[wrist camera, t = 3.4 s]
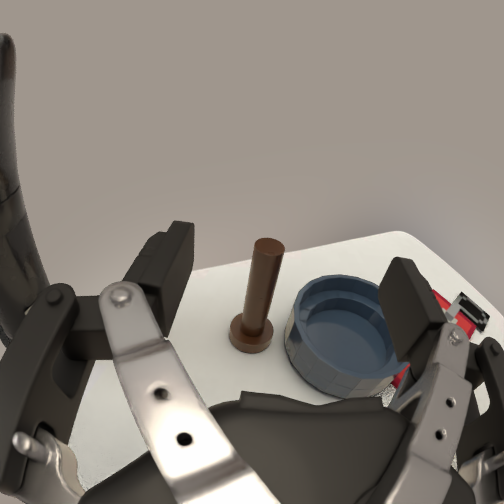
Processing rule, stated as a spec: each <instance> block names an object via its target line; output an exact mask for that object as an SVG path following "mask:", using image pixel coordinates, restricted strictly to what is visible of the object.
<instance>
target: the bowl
mask: <svg viewBox="0 0 504 504" xmlns="http://www.w3.org/2000/svg"><path fill="white" fill-rule="evenodd" d="M378 289H379V286H378V285H376V284H374V283H372V282H370V281H367V280H364V279H361V278H359V277H354V276H348V275H341V274H339V275H327V276H322V277H319V278H317V279H314V280H312V281H310V282H309V283H307V284H306V285H305V286H304V287H303V288H302V289H301V290H300V291H299V293H298V295H297V298H296V300H295V302H294V305H293V308H292V311H291V314H290V316H289V319H288V322H287V325H286V328H285V347H286V350H287V352H288V355H289V357H290V360H291V363H292V364H293V366H294V367H295V368H296V369H297V370H298V372H299V373H300V374H301V375H302V377H303V378H304V379H305V380H306V381H307V382H309V383H310V384H312V385H313V386H315V387H316V388H318V389H319V390H321V391H322V392H325V393H328V394H331V395H334V396H337V397H341V398H344V399H348V398H351V397H369V396H372V395H374V394H377V393H380V392H382V391H383V390H384V389H385V388H386V387H387V386H388V385H389V384H390V383H391V382H392V381H393V380H394V379H395V378H396V377H397V376H398V375H399V374H400V373H401V372H402V371H403V370H404V369H405V368H406V367H407V366H408V365H409V362H398V361H397V358H396V354H395V351H394V347H393V344H392V340H391V337H390V334H389V331H388V327H387V324H386V321H385V318H384V315H383V312H382V309H381V306H380V303H379V300H378Z"/></svg>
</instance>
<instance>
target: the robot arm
mask: <svg viewBox="0 0 504 504" xmlns="http://www.w3.org/2000/svg"><path fill="white" fill-rule="evenodd" d="M15 79H16V50H15V45H14V42H13V39H12V38H11V36H10V35H8V34H6V33H0V324H1V326H2V327H3V330H4V332H5V333H6V335H7V336H8V338H9V339H10V340H11V342H10V344H9V345H8V347H7V349H6V351H5V353H4V355H3V357H2V359H1V361H0V492H1V493H3V494H5V495H8V496H12V497H14V498H18V499H19V500H21V501H22V502H24V503H26V504H502V503H504V351H503V349H502V347H501V345H500V344H499V343H498V342H497V341H496V340H495V339H493V338H491V337H486V338H485V339H484V340H483V341H482V342H481V343H480V344H479V345H477V344H474V343H471V342H469V338H468V336H467V334H466V332H465V331H464V330H463V329H462V328H461V327H460V326H458V325H457V324H455V323H451V322H448V320H447V318H446V316H445V314H444V312H443V310H442V308H441V306H440V304H439V302H438V300H437V299H436V296H435V294H434V292H432V288H431V287H430V285H429V283H428V281H427V280H426V279H425V278H424V277H423V276H422V275H421V274H420V272H419V270H418V269H417V267H416V265H415V263H414V262H413V260H411V259H407V258H401V257H395V258H393V260H392V261H391V263H390V265H389V267H388V269H387V271H386V273H385V275H384V277H383V279H382V281H381V283H380V285H379V289H378V300H379V303H380V306H381V309H382V312H383V315H384V318H385V321H386V324H387V327H388V331H389V334H390V337H391V340H392V344H393V347H394V351H395V354H396V358H397V361H398V362H409V363H410V366H409V367H408V368H407V369H406V371H405V373H404V375H403V377H402V379H401V382H400V384H399V386H398V388H397V390H396V392H395V394H394V396H393V398H392V400H391V402H390V404H389V405H388V407H384V406H383V403H382V398H381V397H351V398H348V399H344V400H340V401H336V402H332V403H328V404H324V405H312V404H308V403H305V402H301V401H298V400H295V399H291V398H288V397H285V396H281V395H275V394H265V393H255V392H247V391H241V395H240V399H239V400H235V401H228V402H223V403H220V404H217V405H214V406H211V407H209V408H207V406H206V404H205V403H204V401H203V399H202V398H201V396H200V394H199V393H198V391H197V389H196V387H195V386H194V384H193V382H192V380H191V379H190V377H189V375H188V373H187V371H186V370H185V368H184V366H183V364H182V362H181V360H180V359H179V357H178V355H177V353H176V351H175V349H174V347H173V345H172V344H171V342H170V341H169V340H165V338H164V337H167V338H168V335H169V332H170V329H171V327H172V324H173V321H174V318H175V315H176V312H177V310H178V307H179V304H180V301H181V299H182V296H183V293H184V290H185V288H186V285H187V282H188V280H189V277H190V274H191V271H192V267H193V262H194V223H190V222H182V221H173V223H172V224H171V226H170V227H169V229H168V231H167V232H158V233H156V234H155V235H153V236H152V237H150V238H149V239H148V240H147V242H146V243H145V245H144V247H143V249H142V250H141V251H140V253H139V256H137V257H136V259H135V260H134V262H133V264H132V265H131V267H130V269H129V270H128V272H127V273H126V275H125V277H124V278H123V280H122V281H120V282H115V283H112V284H111V285H109V286H107V287H106V288H105V289H104V290H103V291H102V292H101V294H100V295H97V296H76V295H75V292H74V290H73V288H72V287H71V286H69V285H68V284H64V283H58V284H53V285H50V284H49V281H48V278H47V276H46V273H45V270H44V268H43V265H42V262H41V259H40V256H39V253H38V250H37V248H36V244H35V241H34V238H33V234H32V231H31V228H30V224H29V220H28V216H27V212H26V209H25V205H24V201H23V196H22V191H21V186H20V181H19V175H18V170H17V158H16V143H15V132H14V94H15ZM96 360H113V363H114V366H115V369H116V372H117V375H118V378H119V381H120V383H121V386H122V389H123V391H124V394H125V397H126V399H127V402H128V404H129V407H130V409H131V412H132V414H133V416H134V419H135V421H136V423H137V426H138V428H139V430H140V432H141V434H142V437H143V439H144V441H145V443H146V445H147V447H148V449H149V451H147V452H146V453H144V454H143V455H141V456H140V457H139V458H137V459H136V460H134V461H133V462H131V463H130V464H128V465H127V466H125V467H124V468H122V469H121V470H119V471H118V472H116V473H115V474H113V475H112V476H110V477H108V478H107V479H105V480H104V481H102V482H100V483H99V484H97V485H95V486H94V487H92V488H90V489H89V490H88V491H86V492H85V490H84V489H83V488H82V486H81V485H80V483H79V480H78V475H77V469H78V465H77V459H76V457H75V454H74V453H73V451H72V450H71V449H70V448H69V447H68V442H69V439H70V435H71V432H72V428H73V425H74V421H75V418H76V415H77V412H78V409H79V406H80V402H81V399H82V396H83V394H84V391H85V388H86V385H87V382H88V379H89V377H90V374H91V371H92V368H93V366H94V363H95V361H96ZM483 382H485V385H486V388H487V392H488V395H489V399H490V405H489V408H488V410H487V411H486V412H485V413H484V414H482V415H481V416H480V413H479V409H478V405H477V401H476V398H475V394H474V390H475V389H476V388H477V387H478V386H479V385H481V384H482V383H483ZM455 452H456V457H457V465H458V472H457V471H456V470H455V469H454V468H453V467H452V466H451V464H452V461H453V458H454V455H455Z"/></svg>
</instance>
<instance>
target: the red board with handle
mask: <svg viewBox="0 0 504 504" xmlns="http://www.w3.org/2000/svg"><path fill="white" fill-rule="evenodd" d="M432 292H434V294H435V296H436V299H437V300H438V302H439V304H440V306H441V308H442V310H443V312H444V314H445V316H446V318H447V320H448V322H451V323H455V324H457V325H458V326H460V327H461V328H462V329H463V330H464V331H465V332H466V334H467V336H468V338H469V339H470V338H471V336H472V334H473V332H474V330H475V328H476V326H477V327H478V328H479V329H480V330H481V331H484V329H485V326H486V324H487V322H488V320H489V317H490V316H489V315H488V314H487V313H486V312H485V311H483V310H482V309H481V308H480V307H479V306H478V305H477V304H475V303H474V302H473V301H472V300H471V299H470V298H469V297H467V296H466V295H465V294H464V293H463V292H461V293H460V294H459V296H458V297H457V298H456V300H455V301H454V302H453V303H452V304H451V303H449V302H448V301H447V300H446V299H445V298H443V297H442V296H441V295H440V294H439V293H437V292H436V291H435V290H434V289H433V290H432ZM462 313H463V314H464V315H465V316H464V315H463V314H462ZM470 320H471V321H472V322H473V323H474V324H473V323H472V322H471V321H470ZM409 366H410V363H409V365H408V366H407V367H406V368H405V369H404V370H403V371H402V372H401V373H400V374H399V375H398V376H397V377H396V378H395V379H394V380H393V381H392V382H391V384H392V385H393V386H394V387H395V388H396V389H397V388H398V386H399V384H400V382H401V379H402V377H403V375H404V373H405V371H406V369H407V368H408V367H409Z"/></svg>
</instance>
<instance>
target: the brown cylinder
mask: <svg viewBox="0 0 504 504" xmlns="http://www.w3.org/2000/svg"><path fill="white" fill-rule="evenodd" d="M284 251H285V247H284V245H283V244H282V243H281V242H279V241H277V240H275V239H272V238H261V239H258V240H257V241H256V242H255V245H254V251H253V256H252V262H251V268H250V274H249V280H248V285H247V291H246V297H245V303H244V309H243V313H241V314H239V315H237V316H236V317H235V318H234V319H233V320H232V322H231V325H230V333H229V337H230V340H231V342H232V344H233V345H234V346H235V347H236V348H237V349H239V350H240V351H243V352H246V353H258V352H261V351H263V350H265V349H266V348H267V347H268V346H269V344H270V342H271V339H272V336H273V326H272V324H271V322H270V321H269V320H268V319H267V316H268V313H269V309H270V305H271V302H272V298H273V294H274V290H275V286H276V283H277V279H278V275H279V271H280V267H281V263H282V259H283V255H284Z"/></svg>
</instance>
